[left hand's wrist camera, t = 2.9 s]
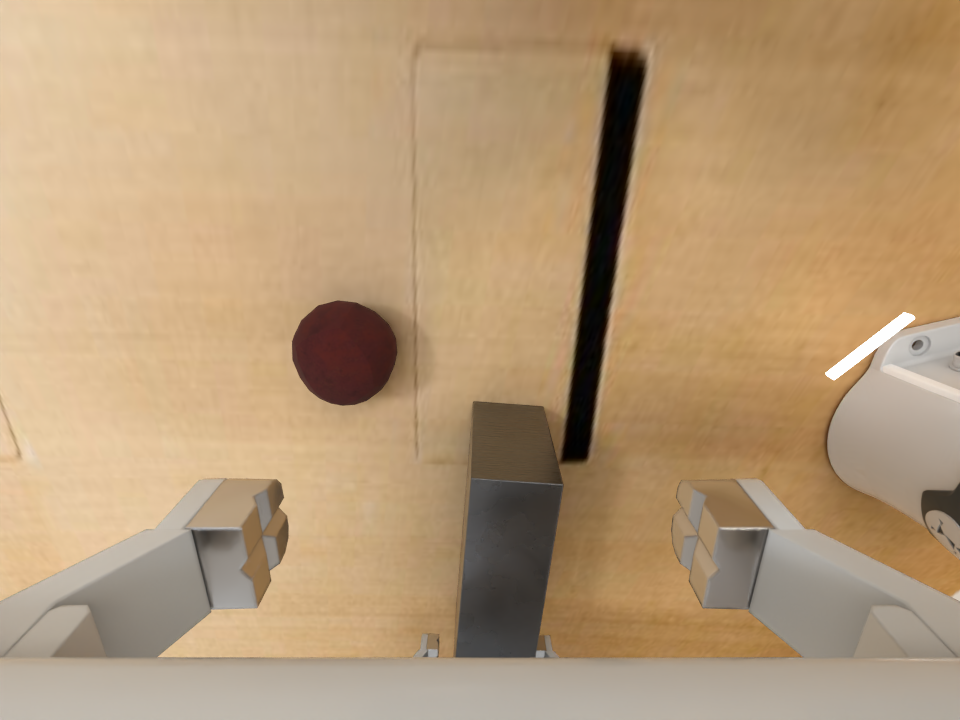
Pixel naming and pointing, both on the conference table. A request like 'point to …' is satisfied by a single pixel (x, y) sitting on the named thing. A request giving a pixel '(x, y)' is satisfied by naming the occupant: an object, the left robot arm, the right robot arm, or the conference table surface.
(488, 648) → the box
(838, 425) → the right robot arm
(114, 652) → the left robot arm
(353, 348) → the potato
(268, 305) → the conference table surface
